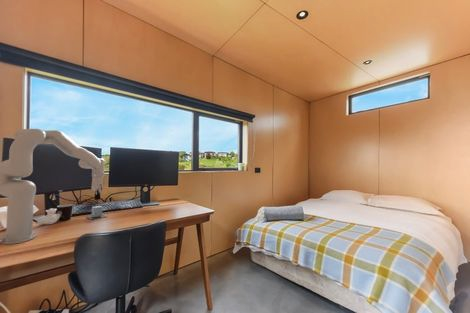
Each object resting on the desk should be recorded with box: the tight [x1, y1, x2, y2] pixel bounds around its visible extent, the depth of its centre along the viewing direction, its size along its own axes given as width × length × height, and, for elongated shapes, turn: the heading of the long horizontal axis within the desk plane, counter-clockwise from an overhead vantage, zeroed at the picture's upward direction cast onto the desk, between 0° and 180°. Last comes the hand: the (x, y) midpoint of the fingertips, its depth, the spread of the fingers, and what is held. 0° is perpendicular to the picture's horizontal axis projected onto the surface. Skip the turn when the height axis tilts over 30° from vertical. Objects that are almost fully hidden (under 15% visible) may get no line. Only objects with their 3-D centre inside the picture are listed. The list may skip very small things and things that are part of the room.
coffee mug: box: [54, 203, 74, 222], centre depth 140 cm, size 12×9×10 cm
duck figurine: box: [37, 208, 60, 226], centre depth 131 cm, size 12×8×11 cm
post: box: [86, 213, 108, 221], centre depth 147 cm, size 10×10×7 cm
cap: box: [91, 205, 103, 217], centre depth 147 cm, size 5×5×7 cm
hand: (97, 199), depth 147 cm, fingers closed
